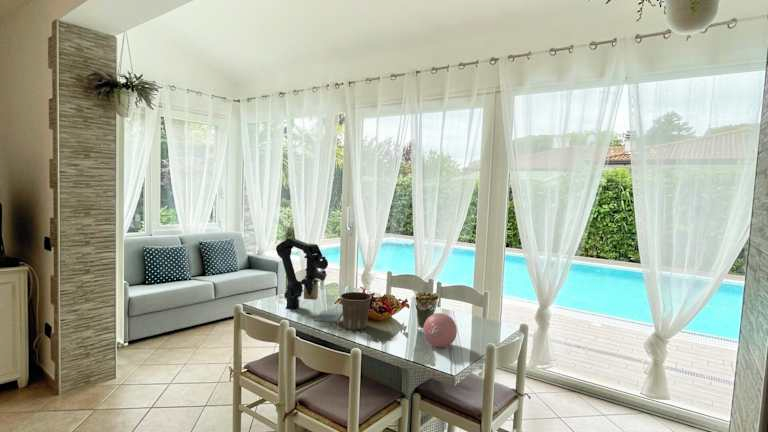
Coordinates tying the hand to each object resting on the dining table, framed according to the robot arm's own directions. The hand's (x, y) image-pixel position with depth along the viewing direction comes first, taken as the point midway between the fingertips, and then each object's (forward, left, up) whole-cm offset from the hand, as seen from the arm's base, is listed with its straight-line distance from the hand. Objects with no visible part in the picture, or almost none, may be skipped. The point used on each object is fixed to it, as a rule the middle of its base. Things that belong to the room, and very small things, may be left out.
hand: (310, 293), depth 230 cm
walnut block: (0, 0, -3) cm, 3 cm away
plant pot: (+29, -17, -11) cm, 35 cm away
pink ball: (+71, -38, -11) cm, 81 cm away
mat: (+12, -4, -11) cm, 17 cm away
